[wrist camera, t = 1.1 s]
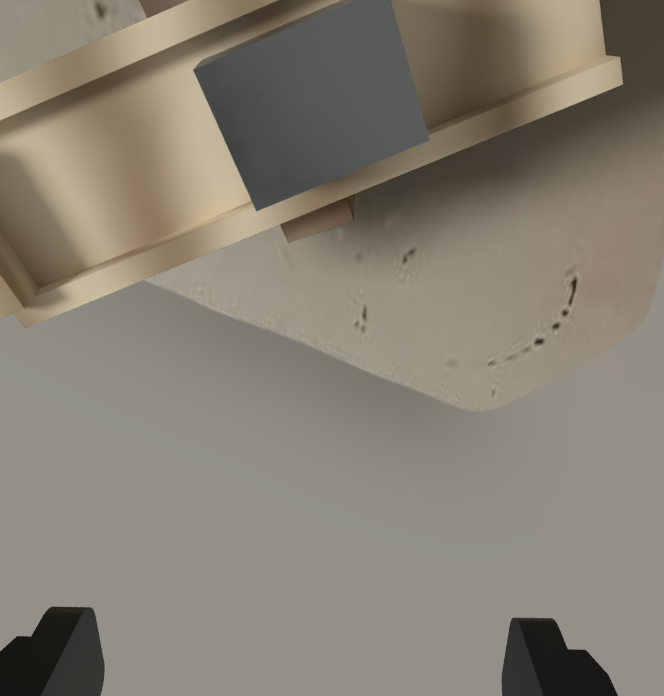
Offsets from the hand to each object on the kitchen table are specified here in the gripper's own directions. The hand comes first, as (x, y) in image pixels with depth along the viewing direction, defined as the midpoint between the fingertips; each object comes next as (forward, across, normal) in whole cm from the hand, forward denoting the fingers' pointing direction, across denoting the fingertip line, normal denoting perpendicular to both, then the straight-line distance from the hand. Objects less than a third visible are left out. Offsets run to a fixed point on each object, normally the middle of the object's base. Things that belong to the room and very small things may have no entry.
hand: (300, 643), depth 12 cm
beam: (+22, +3, -10) cm, 24 cm away
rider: (+16, +1, -10) cm, 19 cm away
